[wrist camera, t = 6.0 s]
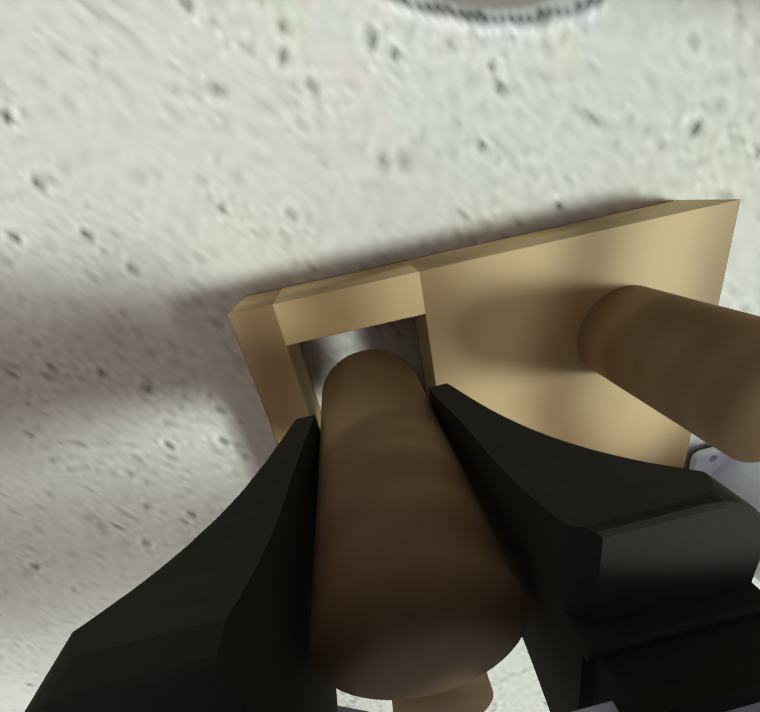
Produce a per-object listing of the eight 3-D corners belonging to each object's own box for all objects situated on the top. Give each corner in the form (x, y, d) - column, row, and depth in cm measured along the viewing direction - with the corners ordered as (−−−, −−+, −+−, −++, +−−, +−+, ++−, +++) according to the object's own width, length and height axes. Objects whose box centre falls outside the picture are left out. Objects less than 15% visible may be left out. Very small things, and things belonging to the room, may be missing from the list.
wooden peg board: (676, 200, 15) (1023, 195, 7) (632, 511, 22) (782, 664, 15) (244, 296, 14) (148, 398, 7) (349, 583, 21) (358, 781, 14)
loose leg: (411, 339, 12) (526, 534, 5) (425, 423, 14) (531, 668, 7) (310, 362, 12) (278, 597, 5) (335, 445, 14) (340, 719, 6)
